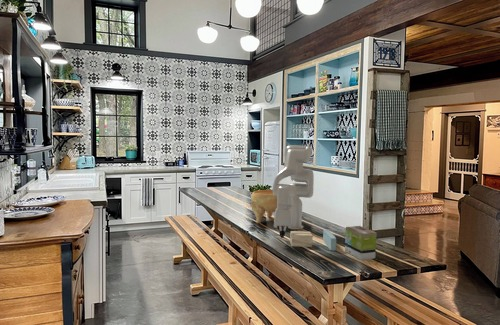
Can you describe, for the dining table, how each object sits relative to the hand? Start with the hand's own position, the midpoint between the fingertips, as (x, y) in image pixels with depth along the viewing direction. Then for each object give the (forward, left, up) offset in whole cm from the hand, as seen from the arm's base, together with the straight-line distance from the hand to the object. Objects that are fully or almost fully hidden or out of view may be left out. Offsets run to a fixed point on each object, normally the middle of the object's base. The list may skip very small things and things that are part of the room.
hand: (282, 237), depth 220 cm
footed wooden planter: (-60, 0, -4) cm, 60 cm away
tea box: (+17, +42, -4) cm, 45 cm away
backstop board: (0, +29, -4) cm, 29 cm away
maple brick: (0, +11, -4) cm, 12 cm away
